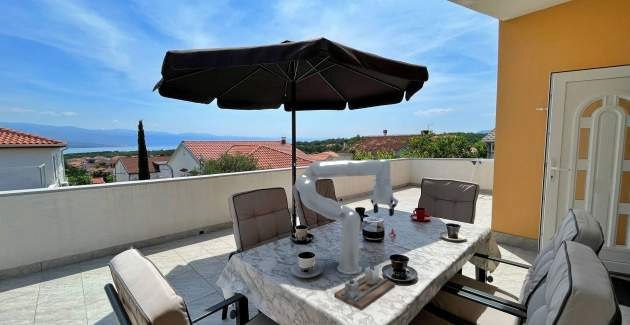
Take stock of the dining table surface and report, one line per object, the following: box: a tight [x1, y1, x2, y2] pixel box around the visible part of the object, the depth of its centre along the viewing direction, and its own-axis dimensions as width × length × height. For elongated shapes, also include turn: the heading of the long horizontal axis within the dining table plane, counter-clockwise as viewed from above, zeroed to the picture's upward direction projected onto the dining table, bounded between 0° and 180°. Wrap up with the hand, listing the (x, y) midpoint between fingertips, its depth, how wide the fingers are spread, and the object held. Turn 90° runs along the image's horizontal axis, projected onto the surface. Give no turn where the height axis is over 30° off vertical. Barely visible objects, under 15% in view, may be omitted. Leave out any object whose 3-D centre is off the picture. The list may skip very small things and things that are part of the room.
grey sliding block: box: [364, 265, 380, 285], centre depth 125 cm, size 4×5×8 cm
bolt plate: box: [333, 275, 396, 311], centre depth 122 cm, size 14×26×8 cm, turn 135°
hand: (383, 214), depth 148 cm, fingers open, 9 cm apart
